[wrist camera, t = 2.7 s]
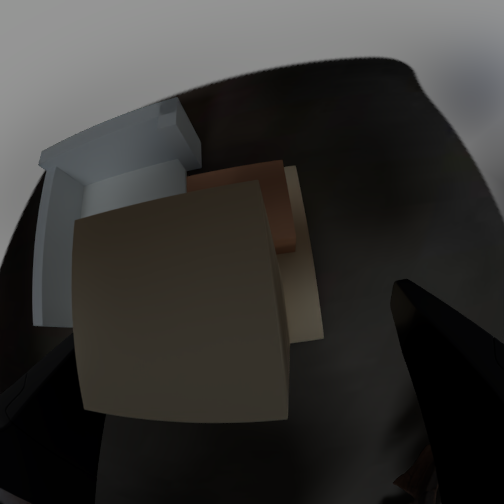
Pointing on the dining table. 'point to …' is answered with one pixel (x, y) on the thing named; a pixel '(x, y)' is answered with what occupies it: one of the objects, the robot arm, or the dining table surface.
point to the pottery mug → (421, 479)
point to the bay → (104, 189)
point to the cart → (196, 299)
